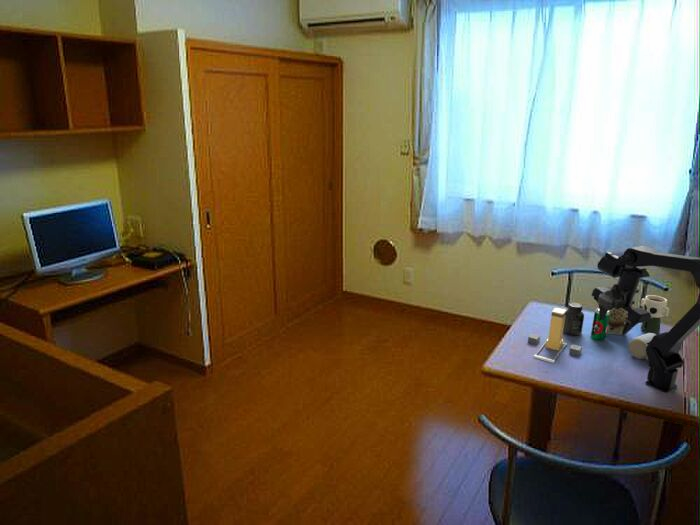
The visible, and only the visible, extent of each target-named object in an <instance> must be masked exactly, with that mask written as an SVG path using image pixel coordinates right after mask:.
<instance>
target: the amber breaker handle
mask: <svg viewBox="0 0 700 525" xmlns="http://www.w3.org/2000/svg"><path fill="white" fill-rule="evenodd" d="M566 310H567V309H564V308H559V307H554V309H553V310H552V311H551V317H550V323H549V331H548V338H547V339H546V340H545V341H546V345H545V348H547V349H550V350H554V351H558V352H559V351H560V350H561V348H562V347H563V346H564V345H563V342H564V339H563V335H564V333H563V328H564V322H565V315H566Z"/></svg>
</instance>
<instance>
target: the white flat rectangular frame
mask: <svg viewBox="0 0 700 525" xmlns="http://www.w3.org/2000/svg"><path fill="white" fill-rule="evenodd" d="M540 340H541V335H539V334H536V333H530V335H529V336H528V338H527V343H529V344H533V345H538V343H540ZM567 345H568V343H567V342H565V341H563V345H562V347H561V349H560V350H559V351H558V352H557V354H556V355H555V356H554V358H553V359H551V358H549V357H545V356H541V355H539V353H541V351H542V350H543V349H544V348H545V347H546V340H545V341H544V343H543V344H542V345H541V347H539V348H538V350H536V352H535V354H533V358H534V359H537V360H541V361H545V362H549V363H551V364H554V363H555V362H557V360H558V358H559V356H561V354H562V353H563V351H564V350H565V348H566V347H567ZM582 349H583V346H581V345H577V344H571V346H570V347H569V353H568V354H569V355H572V356H577V357H579V356H580V354H581V353H582Z"/></svg>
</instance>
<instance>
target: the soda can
mask: <svg viewBox="0 0 700 525" xmlns="http://www.w3.org/2000/svg"><path fill="white" fill-rule="evenodd" d="M609 320H610V310H608V311H607V313H606V316H605V317H604V319H603V320H600V317H599V306H598V307H596V308H595V310H594V314H593V319H592V325H591V332H590V338H591V339H592V340H595V341H597V342H604V341H607V335H608V334H607V331H608V325H609Z"/></svg>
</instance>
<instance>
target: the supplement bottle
mask: <svg viewBox="0 0 700 525" xmlns="http://www.w3.org/2000/svg"><path fill="white" fill-rule="evenodd" d="M565 310H566V315H565V322H564V328H563V335H566V336H569V337H581V336H582V332H583V326H584V320H585V314H584V313H583V304H581V303H579V302H568V304H567V309H565Z"/></svg>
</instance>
